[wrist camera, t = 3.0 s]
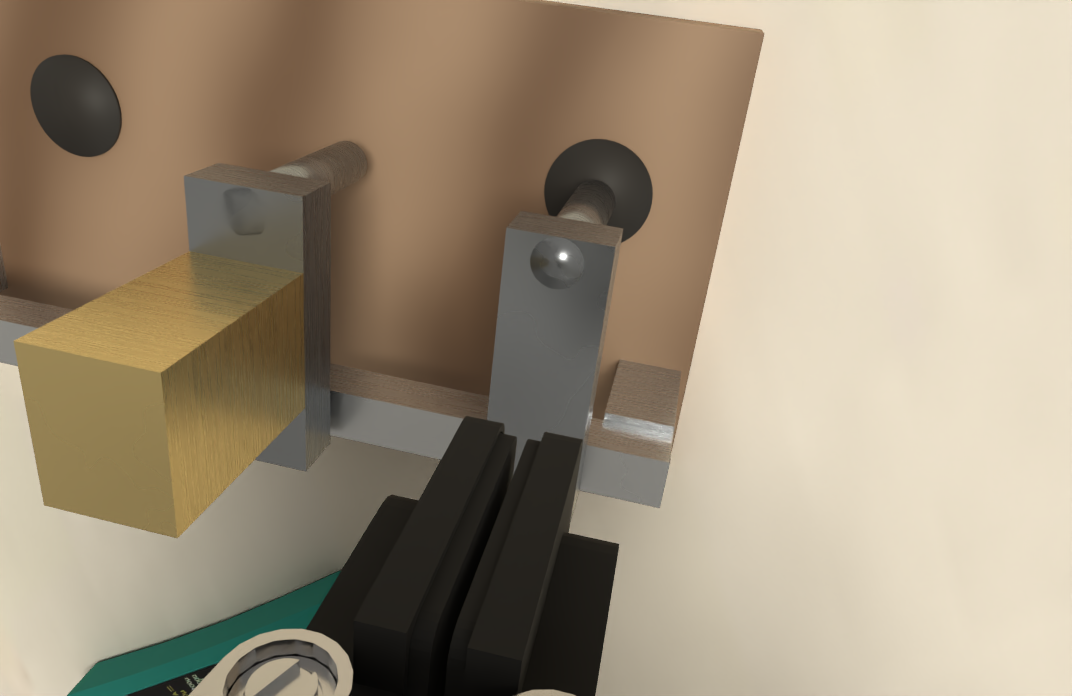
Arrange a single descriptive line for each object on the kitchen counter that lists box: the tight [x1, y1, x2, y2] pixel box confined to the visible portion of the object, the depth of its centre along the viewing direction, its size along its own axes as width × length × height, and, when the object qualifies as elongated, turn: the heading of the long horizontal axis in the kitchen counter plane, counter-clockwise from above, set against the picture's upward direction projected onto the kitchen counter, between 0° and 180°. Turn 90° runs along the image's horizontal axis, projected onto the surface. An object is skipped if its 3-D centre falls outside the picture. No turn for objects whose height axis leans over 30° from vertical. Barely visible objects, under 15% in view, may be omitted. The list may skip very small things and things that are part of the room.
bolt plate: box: [0, 0, 764, 522], centre depth 20 cm, size 22×12×7 cm, turn 83°
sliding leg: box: [13, 141, 367, 538], centre depth 16 cm, size 2×6×9 cm, turn 173°
